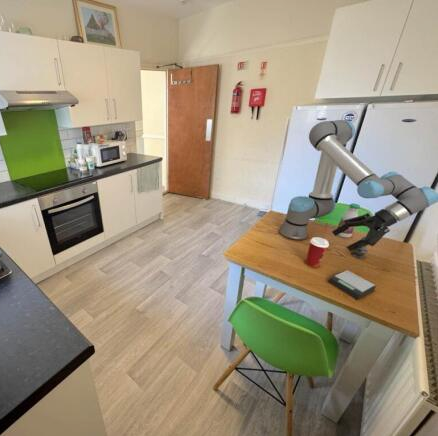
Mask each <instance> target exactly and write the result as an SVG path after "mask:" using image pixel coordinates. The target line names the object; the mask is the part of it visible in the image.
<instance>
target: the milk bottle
mask: <svg viewBox="0 0 438 436" xmlns="http://www.w3.org/2000/svg"><path fill="white" fill-rule="evenodd" d="M360 208H361V205H360V204H358V203H350V204H349V206H348V209H347V211H345V212H344V213H343V214H342V215H341V217H340V221H339V222H338V225H337V228H336V229H338V228H339V227H340V226H342V225H344V224H345V222H344V220H347V219H351V218H355V217H358V216H359V210H360ZM355 229H356V227H350V228H349V229H348V230H346V231H344V232H342V233H340V234H338V235H337V236H339V237H341V238H345V239H346V238H347V239H349V238H351V237H352V235H353V233H354V231H355Z"/></svg>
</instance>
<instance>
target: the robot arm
mask: <svg viewBox="0 0 438 436" xmlns="http://www.w3.org/2000/svg"><path fill="white" fill-rule="evenodd" d="M355 134H356V127H355V125H354V124H353V122H351V121H350V120H347V119H346V120H345V119H336V120H325V121H324V120H323V121H320V122H318V123H316V124H315V125H313V126H312V128H311V129H310V131H309V133H308V140H309V143H310V144H311V146H312V147H313V148H314V149H315V150H316V151H317V152H320V156H319V161H318V166H317V171H316V175H315V181H314V185H313V189H312V191H310V192H309V193H308V196H305V195H304V196H302V195H299V196H295V197H293V198H292V199H291V200H290V202H289V204H288V208H287V212H286V217H285V220H284V221H283V223H282V224H281V225H280V227H279V229H278V233H279V234H280V235H281V236H282V237H284V238H286V239H288V240H292V241H305V240H307V239H308V236H309V232H308V223H309V221H310V220H311V219H316V218H317V219H318V218H320V217H325V216H327V215H330V214H331V213H333V212H334V210H335V208H336V202H335V199H334V195H333V194H332V193H331V192H332V188H333V184H334V182H335V177H336V174H337V170H338V169H339V170H340V171H341V172H342V173H343V174H344V175H345V176H346V177H347V178H349V180H350V181H352V182H353V184H354V185H356V187H357V188H356V192H357V194H358V196H359V197H361V198H363V199H377V198H380V197H385V196H392V197H393V198H395V199H396V201H395V202H392V203H391V204H388V205H387V206H385V207H384V208H381V209H380V210H378V211H375V213H374V215H371V214H370V213H368V212H367V213H365V214H362V215H358V217H355V218H351V219H347V220H344V222H345V224H344V225H342V226H340V227H339V228H338V229H337V228H336V229H334V230H332V231H331V233H332V234H333V236H335V237H336V236H339V235H338V234H340V233H342V232H344V231H346V230H348V229H349V228H350V227H355V228H356V227H366V228H368V229H369V230H368V231H367V233H366V236H364V237H365V239H363V240H364V241H363V240H362V238H361V239H359V240H357V241H355V242H353V243H351V244H349V245H347V246H346V248H347V250H348V251H349V252H351V253H352V252H354V250H355V249H357V248H361V247H363V246H365V245H367V246H370V247H374V246H375V245H377V244H378V242H379V241H380V240H381V239H382V238H383V237H384V236H385V235H386V234H388V233H390V232H391V229H390V228H389V227H392V226H393V225H396V223H398V222H401V221H403V220H405V219H407V218H408V217H411V216H413V215H415V214H417V213H419V212H421V211H423V210H425V209H427V208H430V206H432V205H434V204H436V203H438V192H437V191H436V190H434V189H433V188H432V187H429V186H422V187H420V188H419V187H418V186H416V185H415V184H413V183H412V182H411V181H409V180H408V179H407V178H405V177H404V176H403V175H402V174H400V173H398V172H397V171H389V172H387V173H384V174H383V175H381V176H378V175H377V174H376V173H375V172H373V170H371V169H370V168H369V167H368V166H367V165H366V164H364V162H362V161H361V160H360V159H359V158H358V157H357V156H356V155H355V154H353V153H352V152H351V151H350V150H349V149H348V148H347V144H348V142H350V141H351V140H352V139H353V138H354V136H355Z"/></svg>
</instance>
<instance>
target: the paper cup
mask: <svg viewBox="0 0 438 436" xmlns="http://www.w3.org/2000/svg"><path fill="white" fill-rule="evenodd" d="M329 246H330V244H329V240H327V239H325V238H324V237H323V238H322V237H318V236H315V237H312V238H311V239H310V240H309V246H308V250H307V255H306V259H305V264H306V265H307V266H309V267H311V268H318V267H319V265H320V263H321V261H322V259H323V257H324V255H325V254H326V251H327V249H328V248H329Z"/></svg>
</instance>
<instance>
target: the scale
mask: <svg viewBox="0 0 438 436" xmlns="http://www.w3.org/2000/svg"><path fill="white" fill-rule="evenodd" d="M327 282H328V283H329V284H331V285H332V286H334V287H336V288H337V289H339V290H341V291H342V292H344V293H345V294H347V295H349V296H350V297H352V298H354V299H355V300H359V299H361V298H363V297H366V296H367V295H368V294H370V293H372V292H374V291H375V289H376V288H377V286H376V285H375V284H374V283H372V282H370V281H369V280H366V279H365V278H363V277H361V276H359V275H357V274H355V273H353V272H352V271H350V270H348V269H345V270H343V271H341V272H339V273H337V274H335V275H333V276H331V277H329V279H328V281H327Z"/></svg>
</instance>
